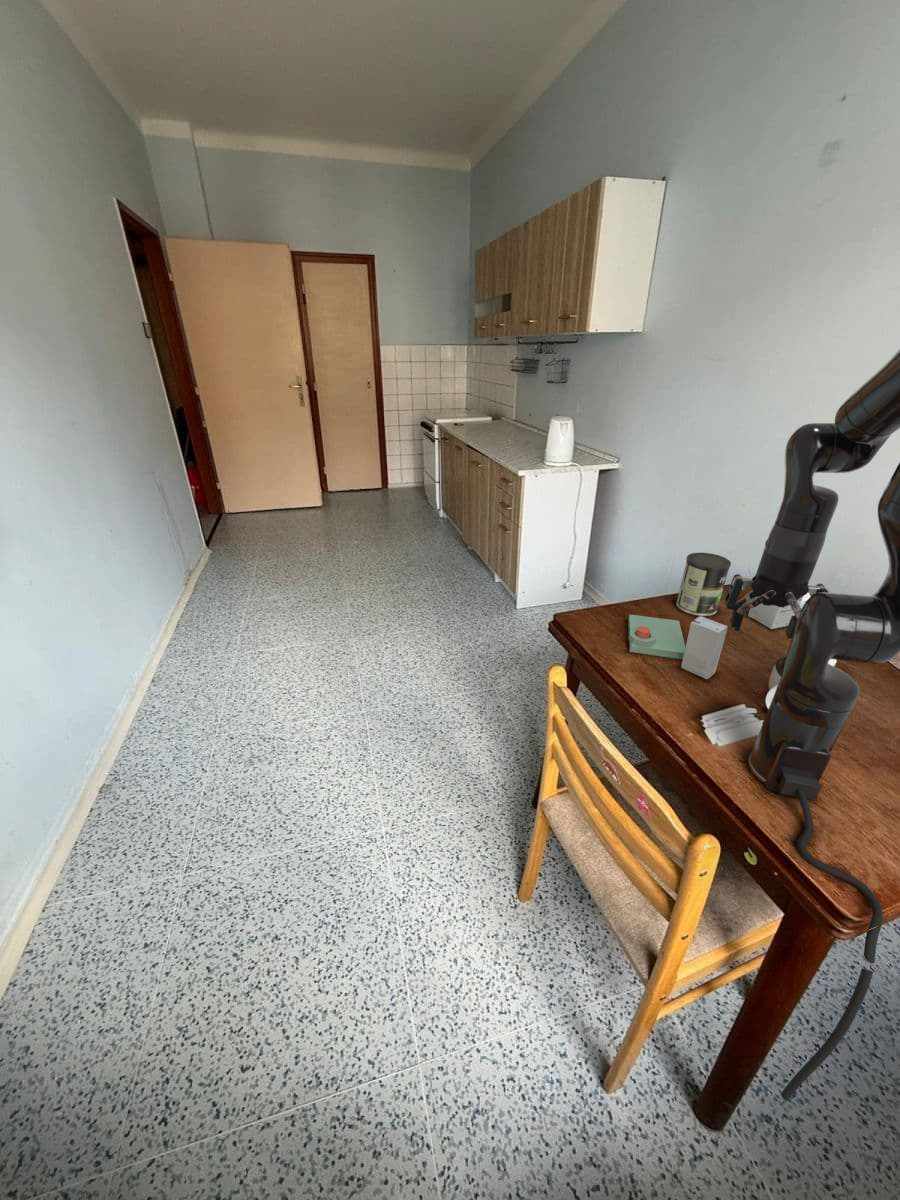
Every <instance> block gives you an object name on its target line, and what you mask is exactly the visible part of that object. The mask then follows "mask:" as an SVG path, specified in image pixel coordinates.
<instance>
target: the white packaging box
mask: <svg viewBox="0 0 900 1200" xmlns="http://www.w3.org/2000/svg"><path fill="white" fill-rule="evenodd" d="M809 584H810V581H809V582H808V585H809ZM755 598H756V597H755ZM803 598H804V596H803V597H801V598H800V599H798V600H797V602H798V604H799V606H800V607H801V604H802V601H803ZM794 615H795V614H794V612H793V610H792V608H791V607H790V605H788V606H784V608H783V607H778V606H775V605H771V606H767V605H763V603H761V604H759V605H758V606H756V607H755V608H750V609H749V610H748V614H747V617H749V618H751V619H753V620H755V621H756V622H758V623H759V624H762V625H763V626H765V627H767V628H768V629H770V630H775V629H779V628H780V629H781V628H784V627H788V624H789V622H790V619H791V617H792V616H794Z"/></svg>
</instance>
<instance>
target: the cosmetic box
mask: <svg viewBox="0 0 900 1200" xmlns="http://www.w3.org/2000/svg"><path fill="white" fill-rule="evenodd" d="M728 628H729V627H728V625H726V624H724V623H723V624H722V623H720V622H717V621H715V620H712V619H709V618H707V617H705V616H698V617H696V618H695V619H694V620H692V621H691V622H690V625H689V629H688V634H687V639H686V643H685V652H684V656H683V659H682V660H681V665H680V666H681V667H680V668H681V669H683V670H685V671H687V672H689V673H691V674H694V675H696V676H699V677H701V678H702V679H705V680H708V679H710V678H711V677H712V676H713V675H714V674H716V672H717V668H718V665H719V661H720V658H721V654H722V650H723V647H724V644H725V639H726V635H727V632H728Z"/></svg>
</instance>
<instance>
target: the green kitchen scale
mask: <svg viewBox="0 0 900 1200" xmlns="http://www.w3.org/2000/svg"><path fill="white" fill-rule="evenodd" d="M627 626H628V627H627V630H628V646H629V647H628V648H629V653H636V654H642V655H649V656H656V657H662V658H663V657H664V658H669V659H677V660H683V656H684V652H685V647H686V643H685V640H684V636H683V631H682V626H681V623H680V620H678V619H677V620H676V619H669V618H660V617H653V616H644V615H636V614H628V619H627ZM639 626H645V627H648V628H649V629H650V630H651V632H650V637H649V638H647V639H644V638H639V637H637V636H636V631H637V628H638V627H639Z"/></svg>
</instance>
